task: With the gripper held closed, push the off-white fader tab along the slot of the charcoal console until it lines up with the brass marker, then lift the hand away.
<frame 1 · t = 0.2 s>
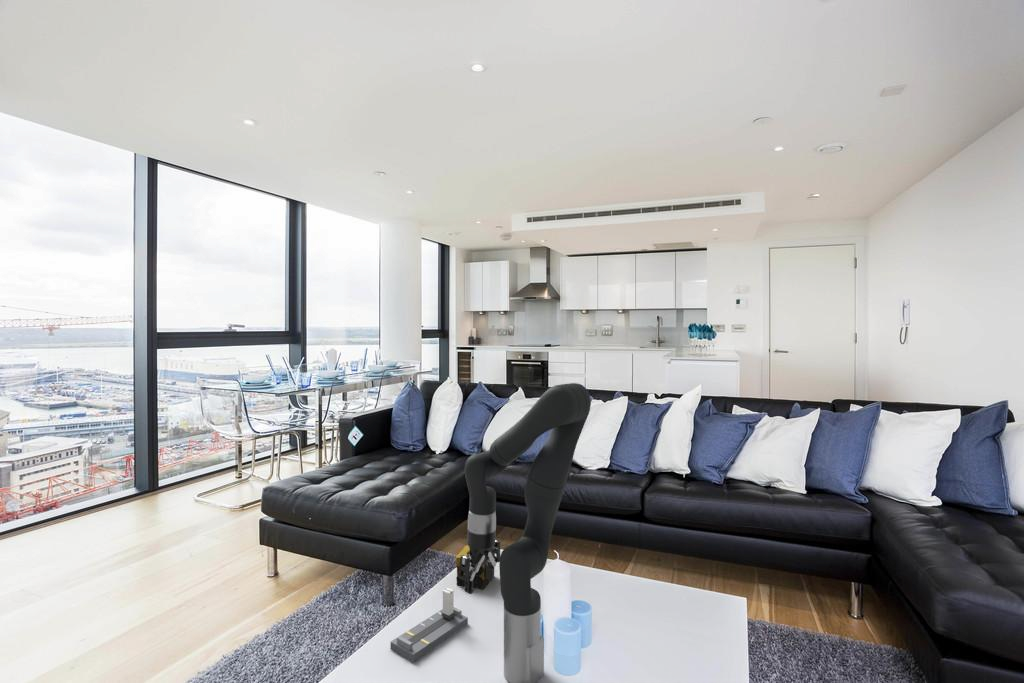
hand: (479, 586, 135), 18 cm above the table, tool pointing down, fingers open, 8 cm apart
candle: (475, 581, 173), on the table
fader: (448, 603, 147), point 6 cm above the table, slide at 0.0 cm
console: (430, 636, 142), on the table
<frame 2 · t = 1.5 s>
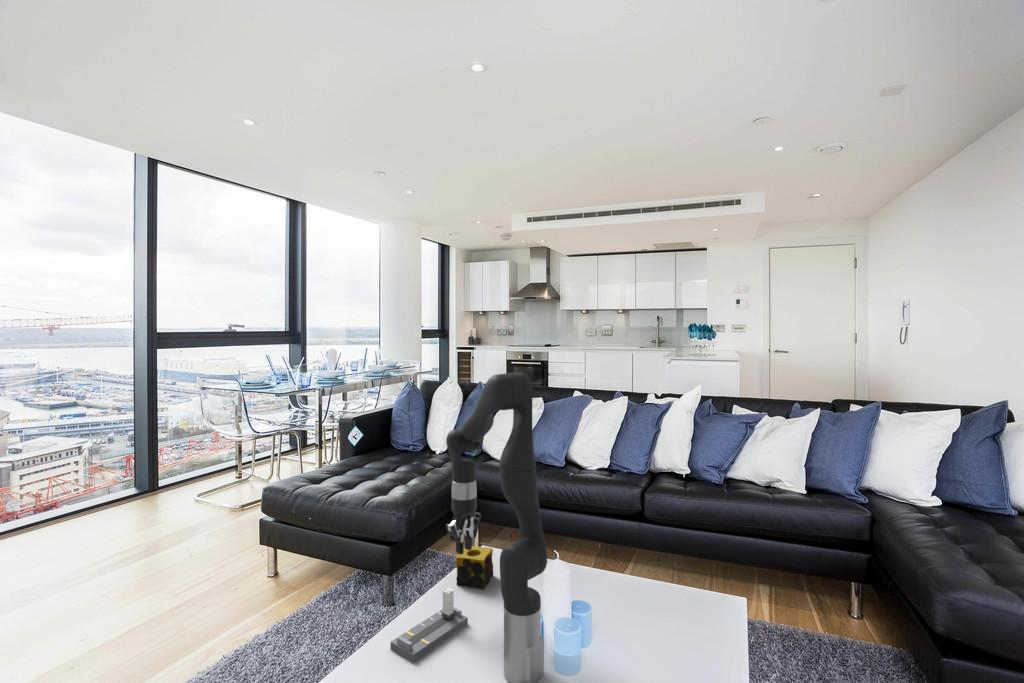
hand: (464, 551, 152), 19 cm above the table, tool pointing down, fingers open, 3 cm apart
nothing on the table moved.
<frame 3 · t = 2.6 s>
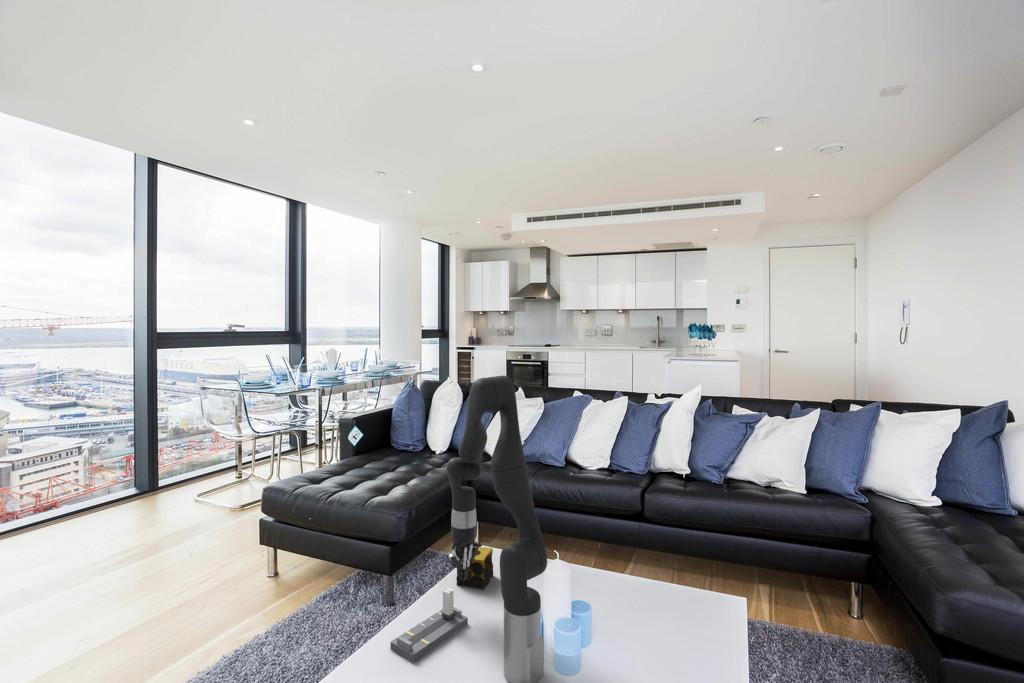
hand: (463, 578, 153), 11 cm above the table, tool pointing down, fingers closed
nothing on the table moved.
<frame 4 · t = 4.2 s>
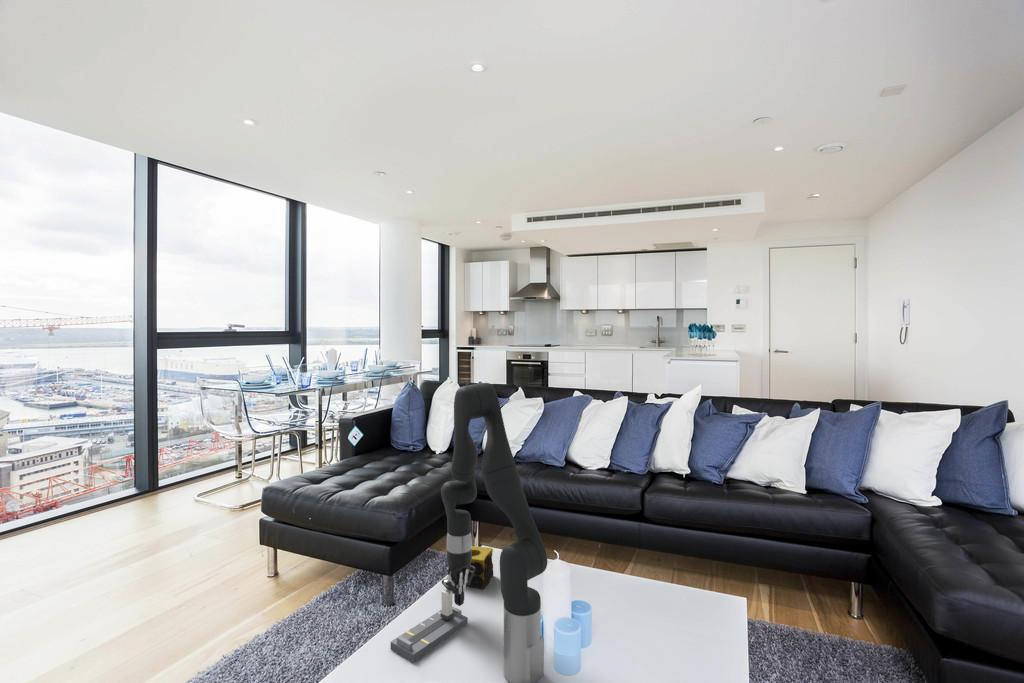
hand: (459, 604, 151), 4 cm above the table, tool pointing down, fingers closed
fader: (447, 603, 147), point 6 cm above the table, slide at 0.5 cm, touching hand
everything else where it was.
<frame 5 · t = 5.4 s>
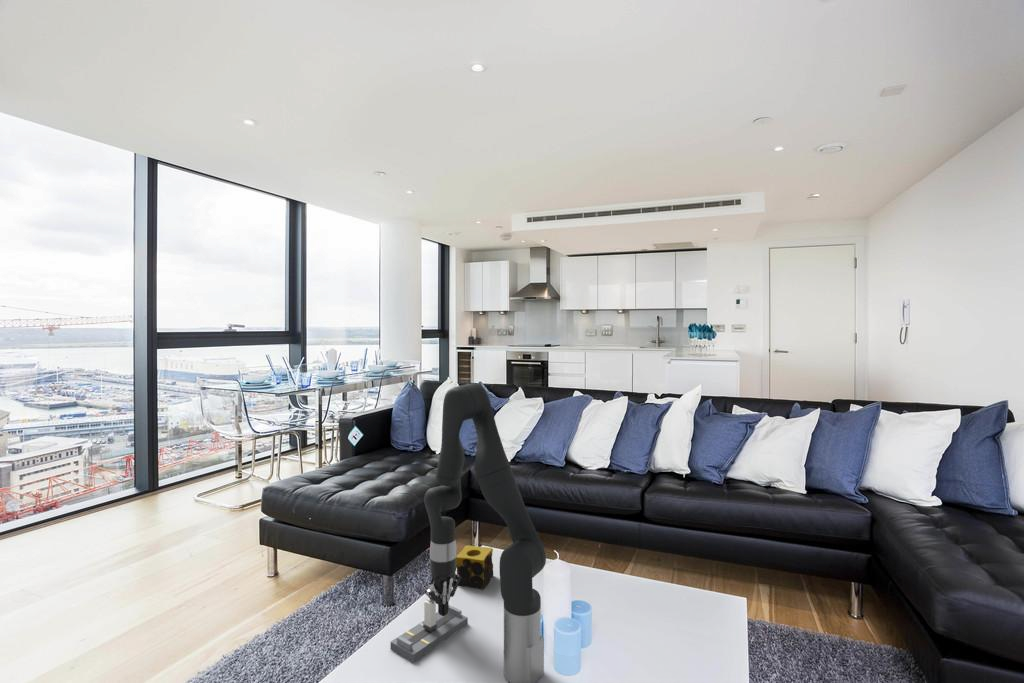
hand: (443, 614, 145), 4 cm above the table, tool pointing down, fingers closed
fader: (430, 614, 141), point 6 cm above the table, slide at 7.2 cm, touching hand
everything else where it was.
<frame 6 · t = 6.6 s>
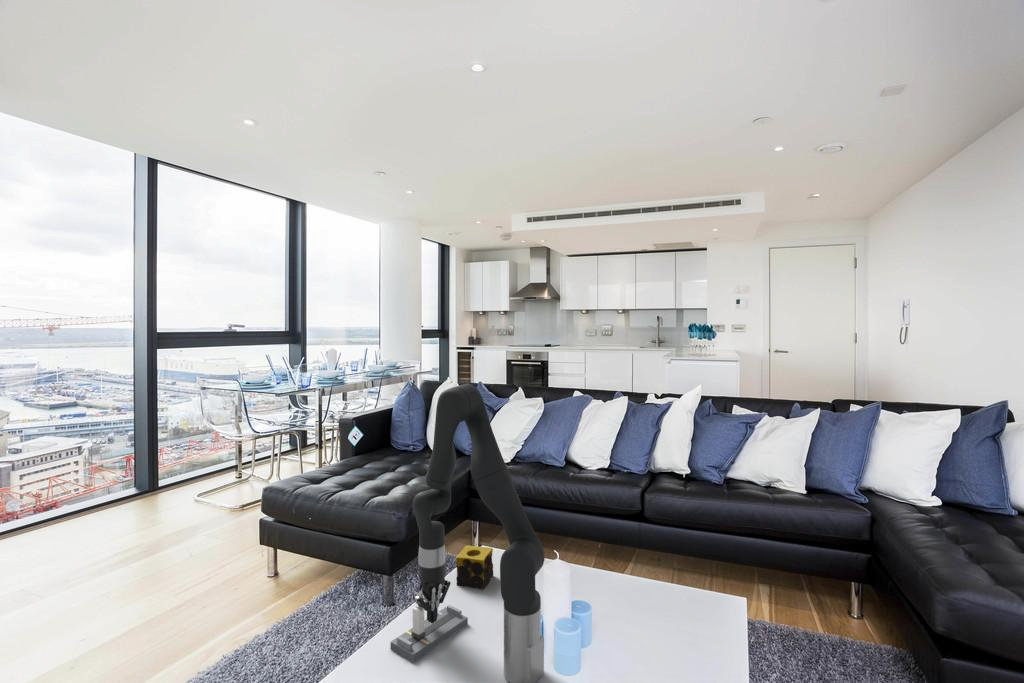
hand: (432, 621, 142), 4 cm above the table, tool pointing down, fingers closed
fader: (418, 621, 138), point 6 cm above the table, slide at 11.6 cm, touching hand
everything else where it was.
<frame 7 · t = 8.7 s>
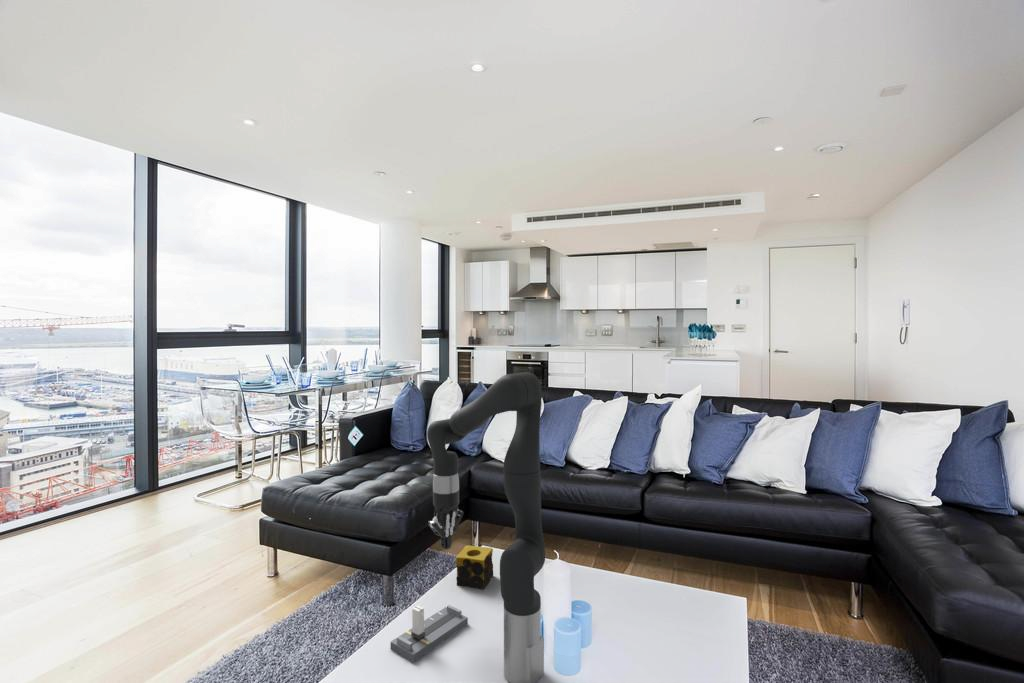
hand: (446, 547, 146), 23 cm above the table, tool pointing down, fingers closed
fader: (418, 621, 138), point 6 cm above the table, slide at 11.6 cm
everything else where it was.
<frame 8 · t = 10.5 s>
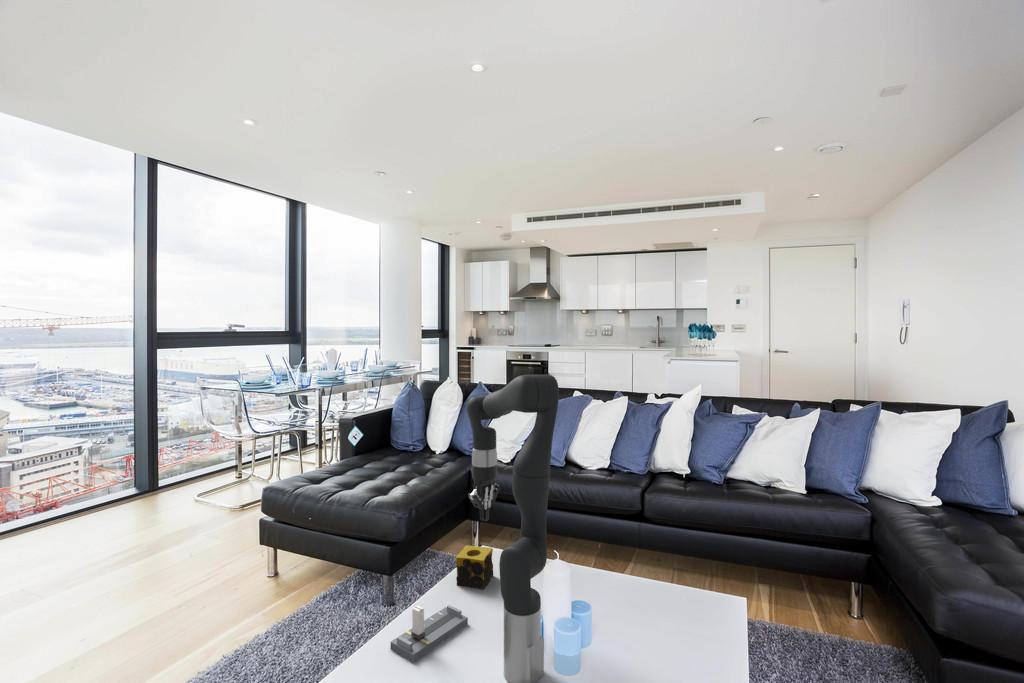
hand: (484, 520, 151), 29 cm above the table, tool pointing down, fingers closed
nothing on the table moved.
at the end: fader slide at 11.6 cm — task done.
